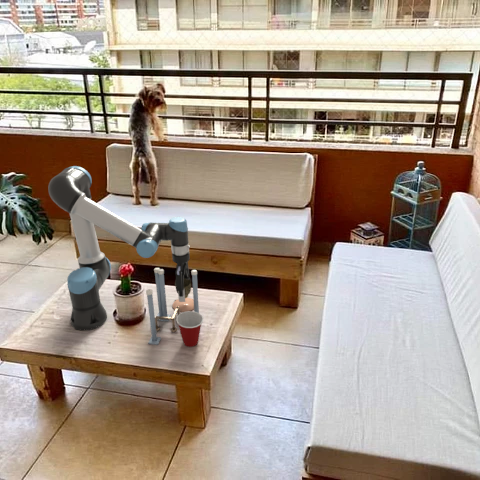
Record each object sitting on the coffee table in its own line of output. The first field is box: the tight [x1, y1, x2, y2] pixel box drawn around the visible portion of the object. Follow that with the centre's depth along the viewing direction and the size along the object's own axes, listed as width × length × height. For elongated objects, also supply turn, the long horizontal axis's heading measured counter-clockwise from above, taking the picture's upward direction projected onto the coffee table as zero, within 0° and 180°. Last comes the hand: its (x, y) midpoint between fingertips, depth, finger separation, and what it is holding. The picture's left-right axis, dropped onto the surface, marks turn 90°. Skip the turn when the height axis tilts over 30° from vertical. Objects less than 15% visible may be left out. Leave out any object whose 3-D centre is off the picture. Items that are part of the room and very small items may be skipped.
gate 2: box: [153, 267, 200, 316], centre depth 191 cm, size 4×20×24 cm, turn 83°
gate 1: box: [145, 268, 172, 346], centre depth 184 cm, size 4×20×24 cm, turn 173°
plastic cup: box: [175, 310, 204, 347], centre depth 178 cm, size 11×11×12 cm
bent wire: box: [155, 306, 181, 333], centre depth 191 cm, size 10×12×6 cm
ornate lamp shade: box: [174, 278, 192, 298], centre depth 202 cm, size 8×7×8 cm
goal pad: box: [172, 297, 194, 313], centre depth 205 cm, size 11×11×1 cm
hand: (184, 296), depth 203 cm, fingers closed on ornate lamp shade, 7 cm apart
